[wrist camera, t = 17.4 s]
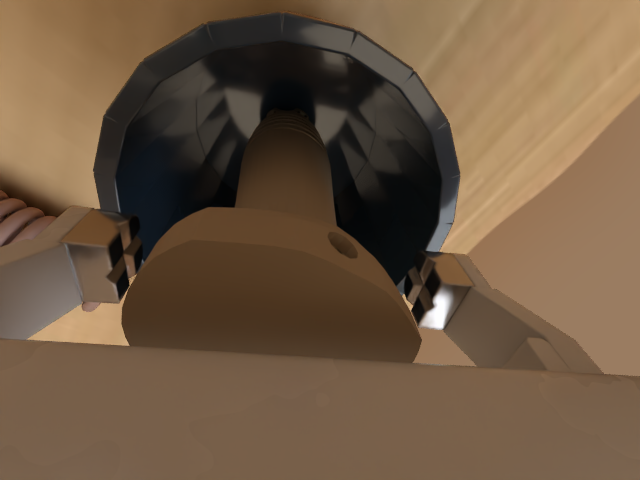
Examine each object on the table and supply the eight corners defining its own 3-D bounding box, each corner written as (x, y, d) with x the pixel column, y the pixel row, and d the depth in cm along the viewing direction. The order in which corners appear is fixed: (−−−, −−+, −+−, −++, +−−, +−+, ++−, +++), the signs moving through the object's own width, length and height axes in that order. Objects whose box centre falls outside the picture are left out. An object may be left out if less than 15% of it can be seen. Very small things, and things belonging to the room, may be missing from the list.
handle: (258, 60, 17) (177, 187, 5) (355, 127, 19) (464, 327, 7) (219, 137, 19) (93, 361, 7) (310, 190, 22) (336, 425, 9)
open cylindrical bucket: (185, -14, 16) (47, -46, 7) (409, 40, 18) (531, 71, 9) (191, 197, 22) (123, 325, 13) (355, 220, 24) (393, 344, 15)
